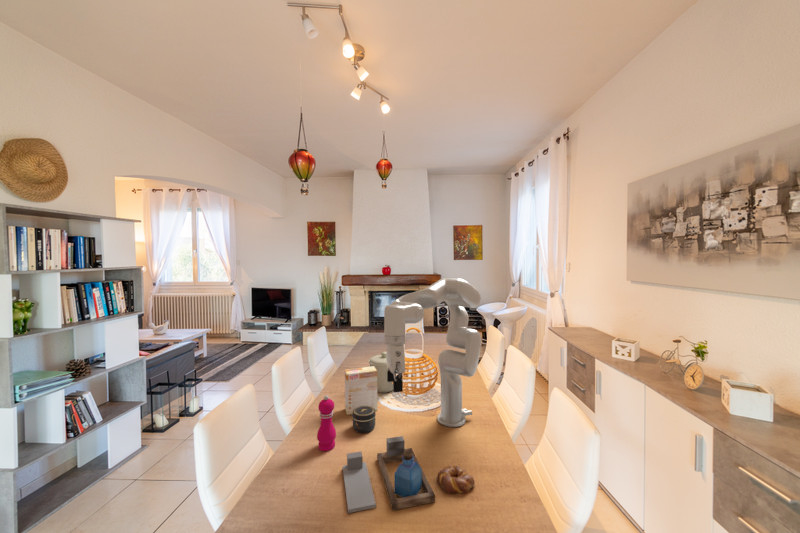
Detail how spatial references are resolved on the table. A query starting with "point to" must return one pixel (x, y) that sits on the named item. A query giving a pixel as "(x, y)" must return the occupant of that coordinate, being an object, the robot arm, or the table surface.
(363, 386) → the coffeecake box
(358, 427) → the jar
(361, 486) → the grey l-shaped piece
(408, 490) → the perfume bottle
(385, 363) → the canister
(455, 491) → the pretzel
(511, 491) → the table surface
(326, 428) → the pepper mill
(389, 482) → the rectangular wooden frame
